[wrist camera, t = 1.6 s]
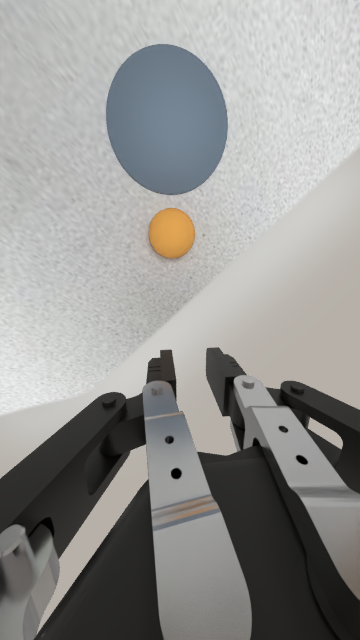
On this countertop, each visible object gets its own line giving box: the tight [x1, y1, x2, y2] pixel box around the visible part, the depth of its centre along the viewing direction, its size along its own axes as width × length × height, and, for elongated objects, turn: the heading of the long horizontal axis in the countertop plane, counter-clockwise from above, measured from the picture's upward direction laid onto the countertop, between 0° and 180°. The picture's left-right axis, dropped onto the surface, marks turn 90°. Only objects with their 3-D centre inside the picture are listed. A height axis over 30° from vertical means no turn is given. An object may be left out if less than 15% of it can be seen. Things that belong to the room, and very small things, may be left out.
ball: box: [149, 208, 195, 258], centre depth 24 cm, size 6×6×6 cm
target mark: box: [106, 44, 228, 195], centre depth 23 cm, size 14×14×1 cm
